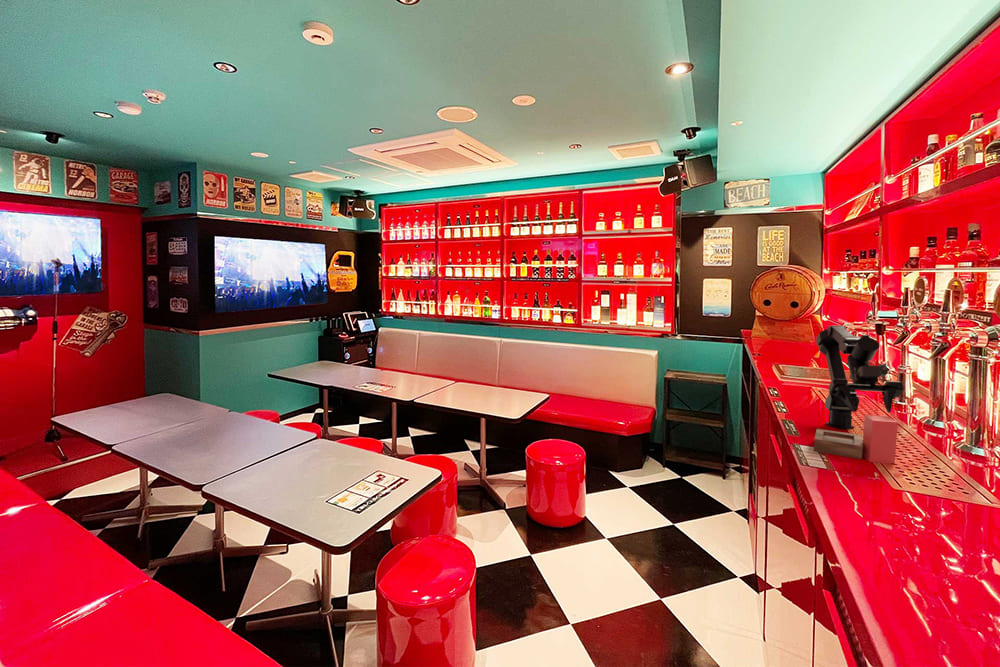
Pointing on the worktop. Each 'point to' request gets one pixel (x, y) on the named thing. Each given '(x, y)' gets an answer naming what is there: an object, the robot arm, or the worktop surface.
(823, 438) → the walnut base
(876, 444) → the red brick
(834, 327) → the robot arm
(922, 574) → the worktop surface
